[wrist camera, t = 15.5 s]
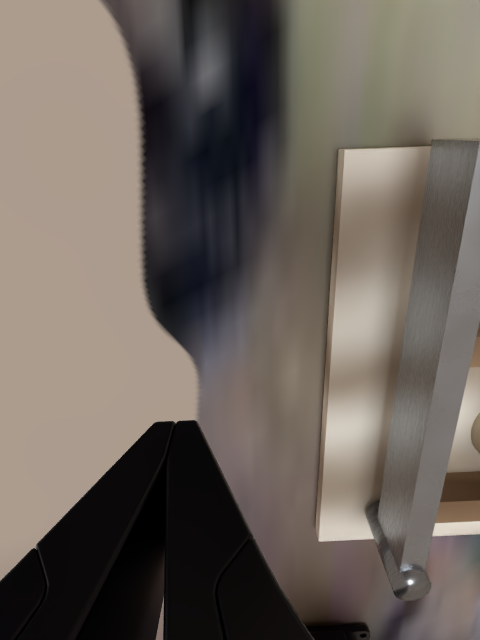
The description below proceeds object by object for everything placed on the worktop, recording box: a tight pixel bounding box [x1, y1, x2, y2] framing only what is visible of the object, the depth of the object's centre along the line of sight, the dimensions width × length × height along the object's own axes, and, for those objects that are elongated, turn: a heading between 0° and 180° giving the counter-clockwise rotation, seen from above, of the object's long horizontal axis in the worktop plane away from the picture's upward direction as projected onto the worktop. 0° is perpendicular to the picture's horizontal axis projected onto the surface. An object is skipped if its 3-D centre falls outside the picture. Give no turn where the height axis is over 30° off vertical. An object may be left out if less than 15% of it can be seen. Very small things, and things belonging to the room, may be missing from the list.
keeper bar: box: [365, 139, 480, 601], centre depth 18 cm, size 21×2×4 cm, turn 1°
